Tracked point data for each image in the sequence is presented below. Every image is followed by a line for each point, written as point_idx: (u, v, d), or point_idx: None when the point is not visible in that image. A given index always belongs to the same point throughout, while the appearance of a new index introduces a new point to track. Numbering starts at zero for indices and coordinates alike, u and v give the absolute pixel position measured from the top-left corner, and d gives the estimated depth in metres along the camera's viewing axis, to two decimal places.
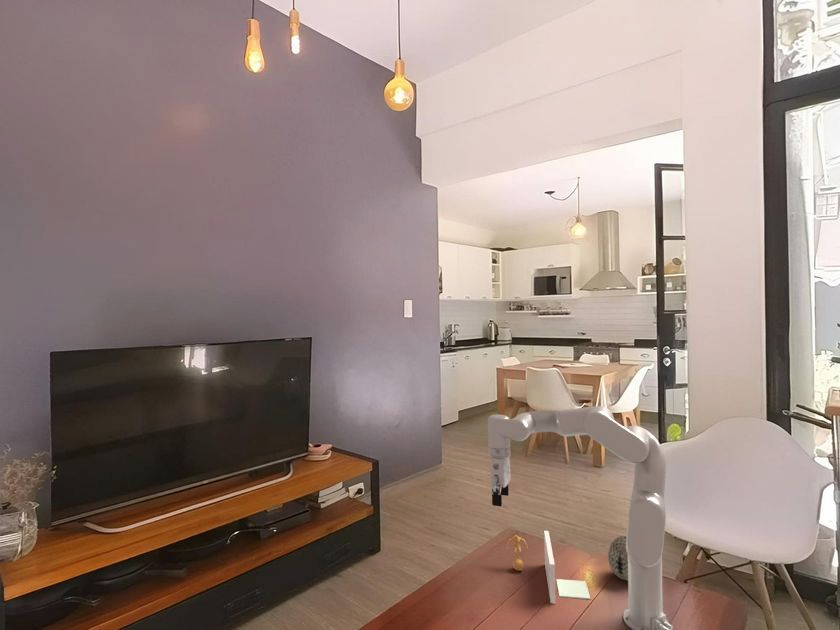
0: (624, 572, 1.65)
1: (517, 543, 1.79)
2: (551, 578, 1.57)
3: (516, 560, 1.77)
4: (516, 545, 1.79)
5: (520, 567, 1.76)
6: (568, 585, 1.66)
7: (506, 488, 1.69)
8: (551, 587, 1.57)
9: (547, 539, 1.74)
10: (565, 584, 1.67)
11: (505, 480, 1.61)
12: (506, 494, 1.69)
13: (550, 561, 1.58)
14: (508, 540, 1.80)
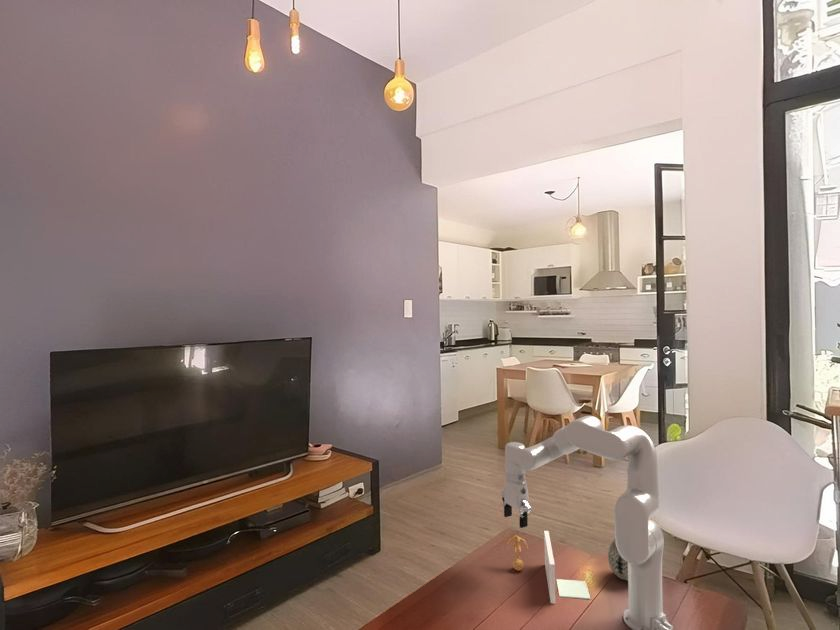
0: (624, 572, 1.65)
1: (517, 543, 1.79)
2: (551, 578, 1.57)
3: (516, 560, 1.77)
4: (516, 545, 1.79)
5: (520, 567, 1.76)
6: (568, 585, 1.66)
7: (510, 509, 1.83)
8: (551, 587, 1.57)
9: (547, 539, 1.74)
10: (565, 584, 1.67)
11: None
12: (510, 514, 1.83)
13: (550, 561, 1.58)
14: (508, 540, 1.80)
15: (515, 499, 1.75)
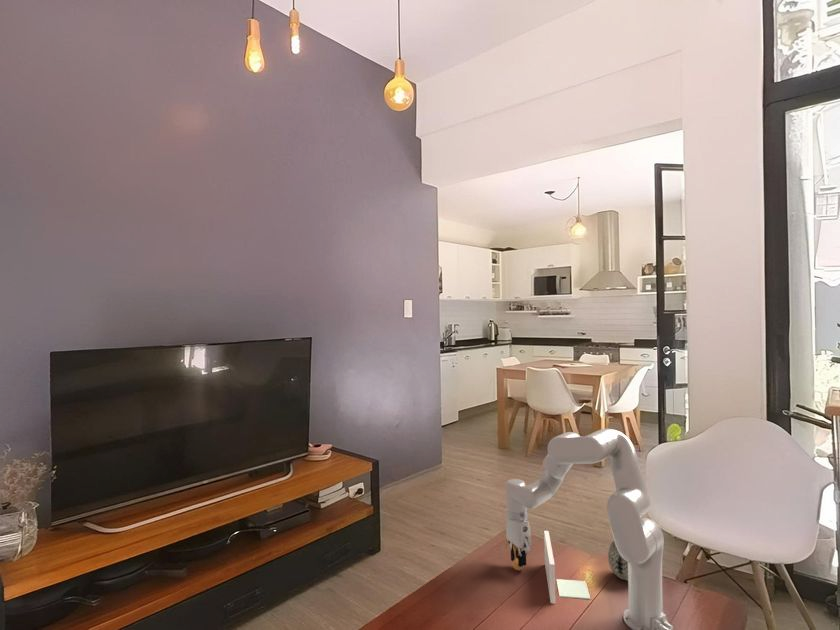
0: (624, 572, 1.65)
1: None
2: (551, 578, 1.57)
3: (516, 560, 1.77)
4: None
5: (520, 567, 1.76)
6: (568, 585, 1.66)
7: (517, 552, 1.80)
8: (551, 587, 1.57)
9: (547, 539, 1.74)
10: (565, 584, 1.67)
11: None
12: None
13: (550, 561, 1.58)
14: (508, 540, 1.80)
15: (517, 537, 1.74)
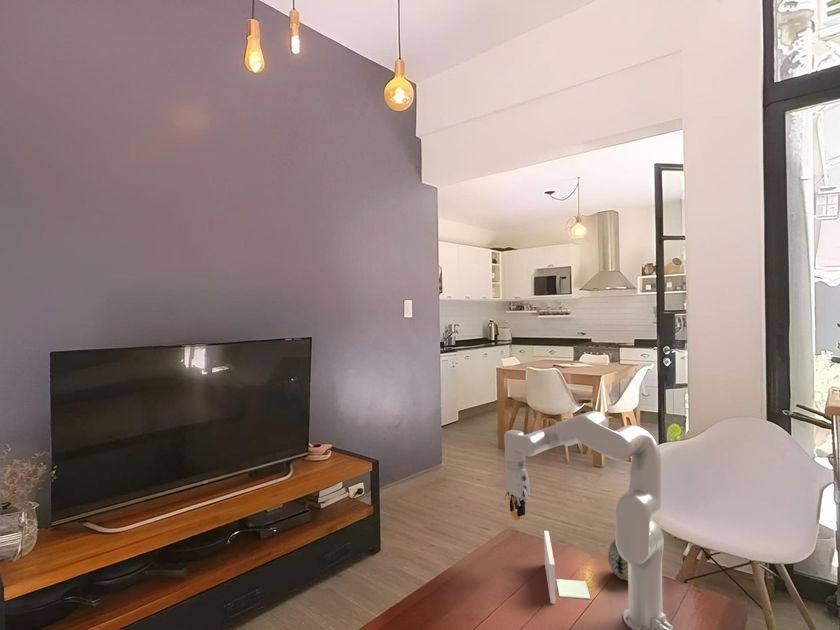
0: (624, 572, 1.65)
1: None
2: (551, 578, 1.57)
3: (515, 510, 1.77)
4: (515, 496, 1.79)
5: (519, 517, 1.76)
6: (568, 585, 1.66)
7: (516, 503, 1.80)
8: (551, 587, 1.57)
9: (547, 539, 1.74)
10: (565, 584, 1.67)
11: None
12: None
13: (550, 561, 1.58)
14: None
15: (516, 487, 1.74)
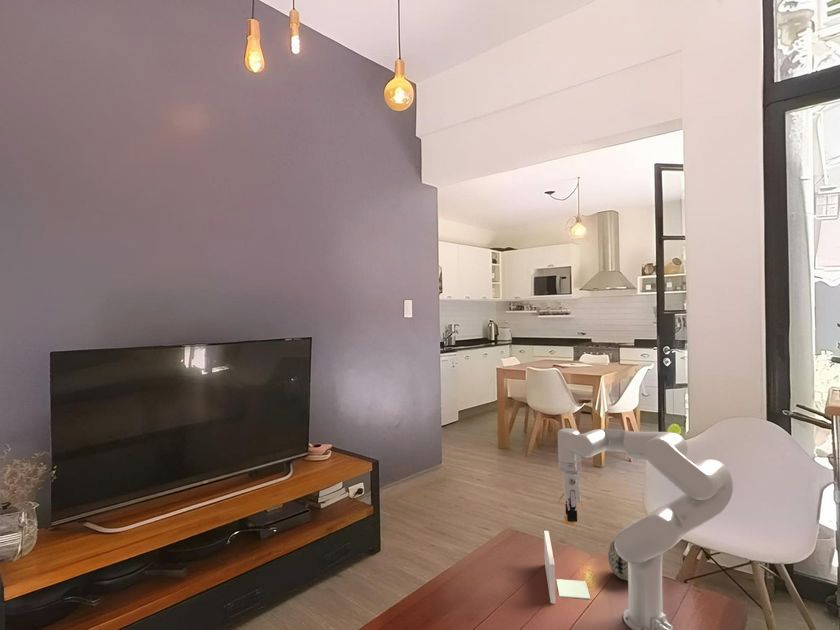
0: (624, 572, 1.65)
1: None
2: (551, 578, 1.57)
3: None
4: (570, 499, 1.65)
5: (569, 522, 1.62)
6: (568, 585, 1.66)
7: None
8: (551, 587, 1.57)
9: (547, 539, 1.74)
10: (565, 584, 1.67)
11: None
12: None
13: (550, 561, 1.58)
14: None
15: (564, 489, 1.61)
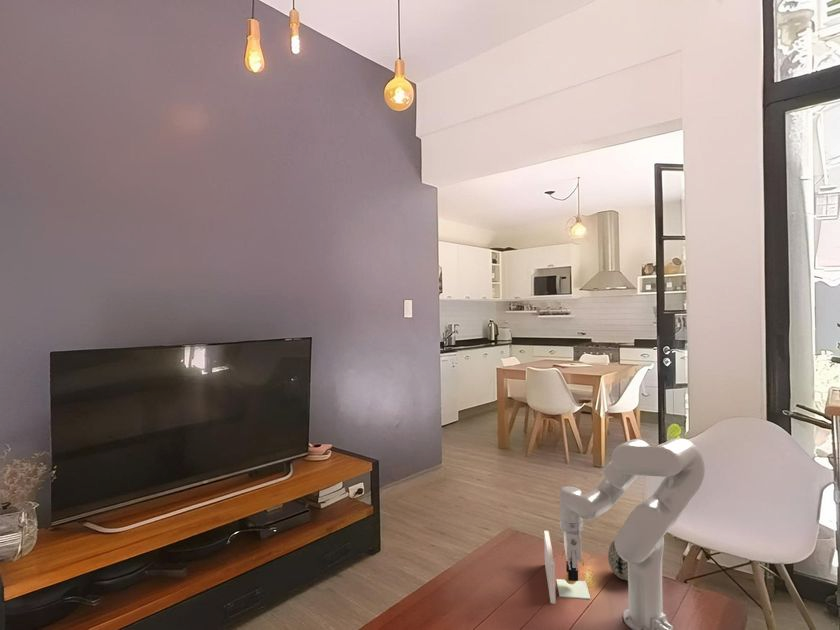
0: (624, 572, 1.65)
1: None
2: (551, 578, 1.57)
3: None
4: None
5: (570, 581, 1.63)
6: (568, 585, 1.66)
7: None
8: (551, 587, 1.57)
9: (547, 539, 1.74)
10: (565, 584, 1.67)
11: None
12: None
13: (550, 561, 1.58)
14: None
15: (566, 548, 1.61)
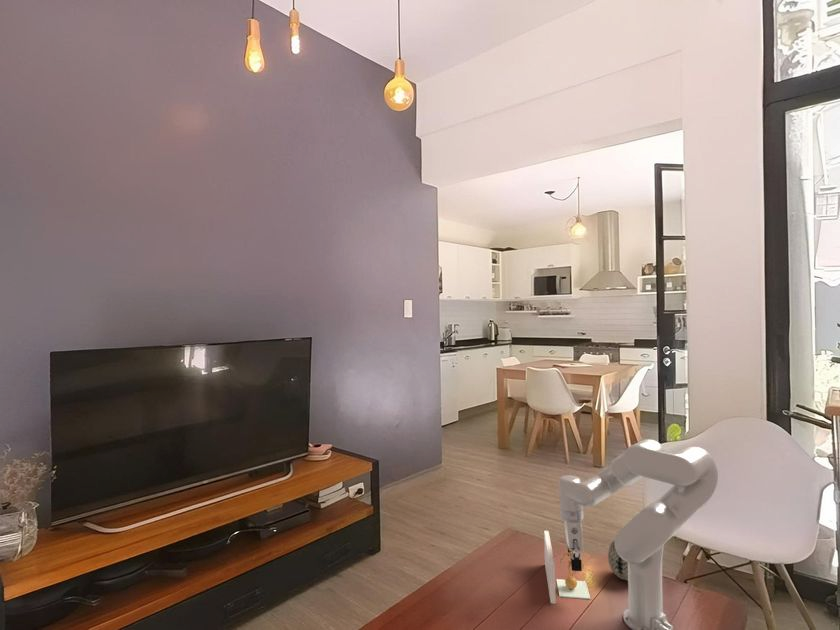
0: (624, 572, 1.65)
1: None
2: (551, 578, 1.57)
3: (568, 577, 1.64)
4: None
5: (571, 585, 1.63)
6: None
7: None
8: (551, 587, 1.57)
9: (547, 539, 1.74)
10: (565, 584, 1.67)
11: None
12: None
13: (550, 561, 1.58)
14: (563, 554, 1.68)
15: (567, 538, 1.61)
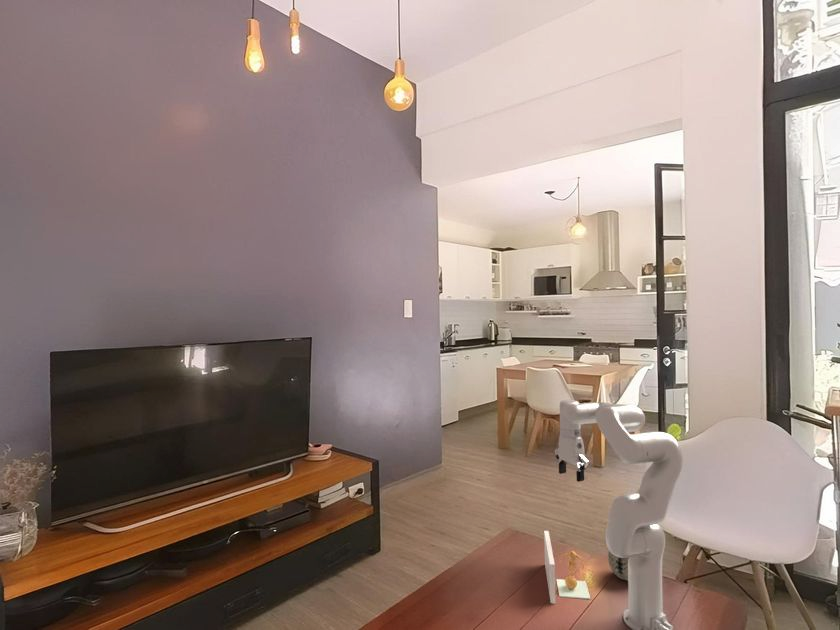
0: (624, 572, 1.65)
1: (572, 559, 1.66)
2: (551, 578, 1.57)
3: (568, 577, 1.64)
4: (571, 561, 1.66)
5: (571, 585, 1.63)
6: None
7: (565, 466, 1.87)
8: (551, 587, 1.57)
9: (547, 539, 1.74)
10: (565, 584, 1.67)
11: None
12: (565, 471, 1.87)
13: (550, 561, 1.58)
14: None
15: (571, 454, 1.79)
